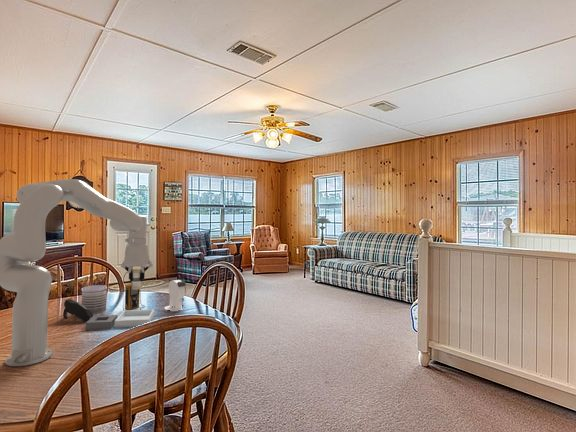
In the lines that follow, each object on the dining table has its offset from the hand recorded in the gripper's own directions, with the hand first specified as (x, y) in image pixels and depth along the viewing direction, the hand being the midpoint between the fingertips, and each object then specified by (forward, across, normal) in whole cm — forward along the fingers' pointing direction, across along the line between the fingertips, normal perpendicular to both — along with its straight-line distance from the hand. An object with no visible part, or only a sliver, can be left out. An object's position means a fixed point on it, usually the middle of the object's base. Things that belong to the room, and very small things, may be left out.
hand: (136, 280), depth 156 cm
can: (+19, -24, +21) cm, 37 cm away
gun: (+19, -26, +6) cm, 33 cm away
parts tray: (+19, 0, 0) cm, 19 cm away
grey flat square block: (+19, -13, -4) cm, 23 cm away
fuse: (+4, 0, 0) cm, 4 cm away
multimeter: (+19, -3, +20) cm, 28 cm away
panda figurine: (+19, +16, +20) cm, 32 cm away
